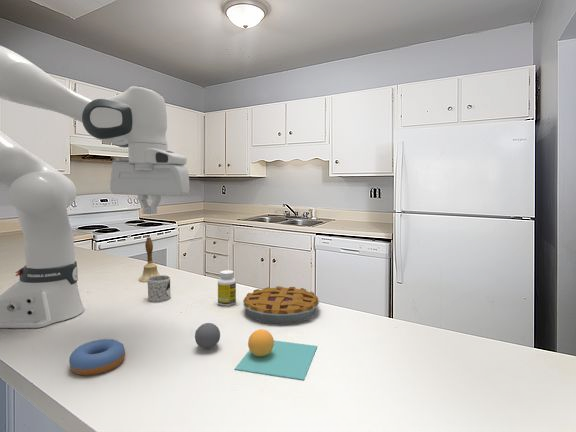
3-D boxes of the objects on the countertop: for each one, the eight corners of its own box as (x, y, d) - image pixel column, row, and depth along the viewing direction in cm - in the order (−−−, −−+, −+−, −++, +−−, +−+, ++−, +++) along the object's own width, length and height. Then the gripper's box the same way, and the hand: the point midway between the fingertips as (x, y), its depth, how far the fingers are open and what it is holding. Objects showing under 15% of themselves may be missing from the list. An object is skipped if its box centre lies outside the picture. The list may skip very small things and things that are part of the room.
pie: (248, 298, 113) (248, 283, 113) (317, 299, 113) (317, 284, 112) (236, 326, 92) (236, 307, 91) (321, 327, 91) (321, 308, 90)
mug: (172, 300, 110) (171, 279, 109) (149, 303, 107) (148, 282, 106) (167, 291, 119) (167, 272, 118) (146, 294, 116) (145, 274, 115)
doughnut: (58, 366, 70) (60, 344, 70) (108, 349, 79) (109, 329, 78) (84, 387, 65) (85, 364, 64) (134, 367, 73) (136, 346, 73)
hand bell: (157, 282, 129) (156, 239, 127) (134, 282, 129) (133, 239, 128) (165, 276, 137) (164, 235, 136) (144, 276, 137) (142, 235, 136)
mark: (234, 369, 70) (234, 368, 70) (258, 339, 83) (258, 338, 83) (303, 380, 66) (303, 379, 66) (317, 346, 80) (317, 345, 80)
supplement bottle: (232, 307, 104) (232, 274, 104) (215, 305, 106) (214, 273, 105) (238, 301, 110) (238, 270, 109) (222, 299, 111) (221, 269, 110)
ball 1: (201, 329, 75) (208, 354, 75) (221, 319, 79) (227, 342, 79) (187, 328, 78) (193, 352, 79) (207, 318, 83) (213, 341, 83)
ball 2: (252, 336, 72) (267, 360, 72) (269, 321, 76) (283, 344, 76) (238, 341, 75) (252, 364, 75) (255, 327, 80) (268, 348, 79)
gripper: (102, 156, 85) (104, 213, 87) (178, 155, 80) (179, 216, 82) (121, 158, 92) (123, 211, 93) (192, 157, 86) (193, 214, 88)
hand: (149, 213), depth 87 cm, fingers closed
